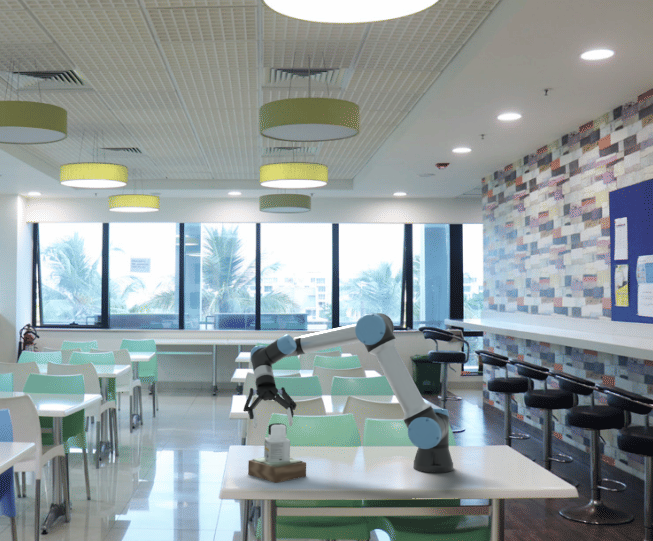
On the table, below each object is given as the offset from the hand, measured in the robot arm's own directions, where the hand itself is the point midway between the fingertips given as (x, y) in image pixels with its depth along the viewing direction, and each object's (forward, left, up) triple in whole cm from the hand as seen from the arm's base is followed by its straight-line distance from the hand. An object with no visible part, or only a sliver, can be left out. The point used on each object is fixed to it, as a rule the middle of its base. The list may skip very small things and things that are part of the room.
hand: (273, 424), depth 253 cm
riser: (-4, +1, -18) cm, 18 cm away
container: (-4, +1, -12) cm, 13 cm away
